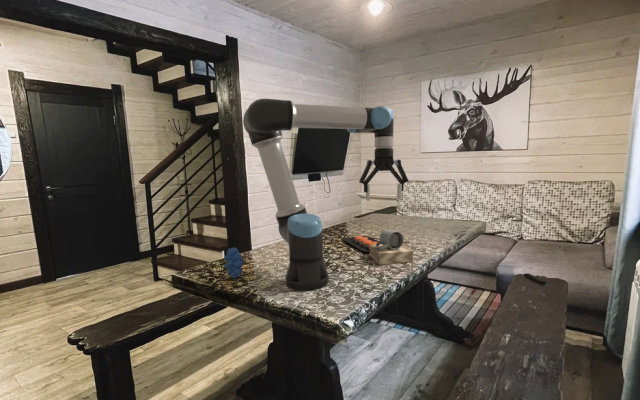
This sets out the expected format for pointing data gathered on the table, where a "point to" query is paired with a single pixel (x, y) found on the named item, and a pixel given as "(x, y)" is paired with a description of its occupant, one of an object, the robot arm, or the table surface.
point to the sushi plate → (362, 242)
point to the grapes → (234, 262)
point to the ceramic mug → (390, 240)
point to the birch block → (391, 255)
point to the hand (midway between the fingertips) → (383, 199)
